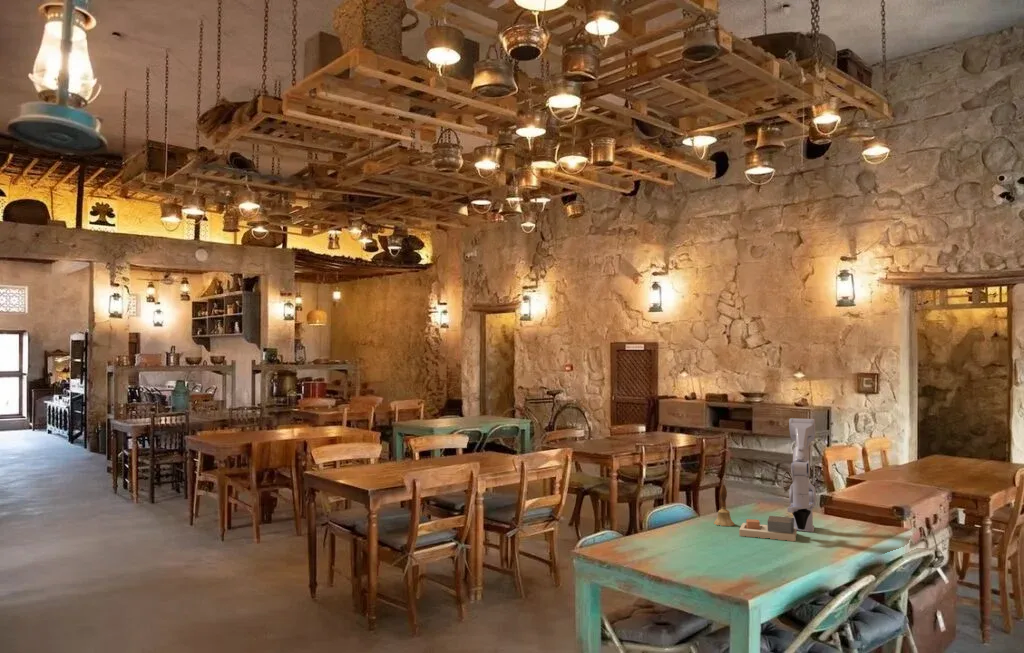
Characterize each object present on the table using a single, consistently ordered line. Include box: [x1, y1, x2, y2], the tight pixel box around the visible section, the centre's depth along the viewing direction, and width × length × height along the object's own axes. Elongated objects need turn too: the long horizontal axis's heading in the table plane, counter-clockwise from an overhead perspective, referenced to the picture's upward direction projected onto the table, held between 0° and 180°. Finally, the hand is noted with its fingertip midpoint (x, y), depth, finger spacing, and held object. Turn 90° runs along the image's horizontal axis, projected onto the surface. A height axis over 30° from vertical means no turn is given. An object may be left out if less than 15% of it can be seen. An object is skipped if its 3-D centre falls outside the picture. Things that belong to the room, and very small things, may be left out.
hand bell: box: [713, 484, 736, 527], centre depth 298 cm, size 8×8×16 cm
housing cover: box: [767, 515, 794, 533], centre depth 279 cm, size 9×9×4 cm
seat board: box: [738, 522, 798, 542], centre depth 281 cm, size 12×20×2 cm, turn 66°
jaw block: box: [745, 518, 761, 530], centre depth 283 cm, size 4×4×5 cm
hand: (801, 529), depth 276 cm, fingers closed
